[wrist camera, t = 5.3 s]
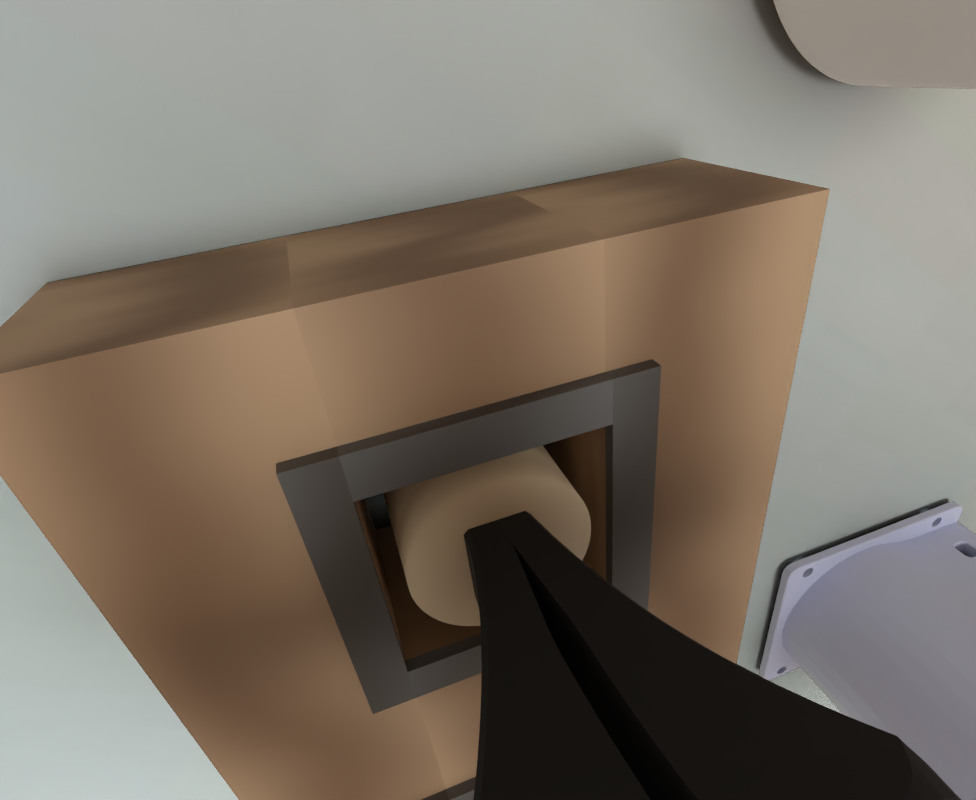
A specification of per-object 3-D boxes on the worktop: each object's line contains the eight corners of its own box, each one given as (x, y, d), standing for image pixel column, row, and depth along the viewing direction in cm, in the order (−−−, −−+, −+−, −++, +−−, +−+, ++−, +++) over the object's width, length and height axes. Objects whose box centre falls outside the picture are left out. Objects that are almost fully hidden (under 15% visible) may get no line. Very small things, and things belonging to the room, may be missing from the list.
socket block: (683, 158, 14) (843, 191, 10) (648, 706, 27) (712, 815, 23) (47, 282, 11) (-75, 399, 7) (350, 832, 24) (365, 981, 20)
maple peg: (509, 356, 15) (589, 452, 11) (522, 475, 17) (592, 588, 13) (356, 396, 14) (387, 514, 10) (389, 516, 16) (425, 649, 12)
